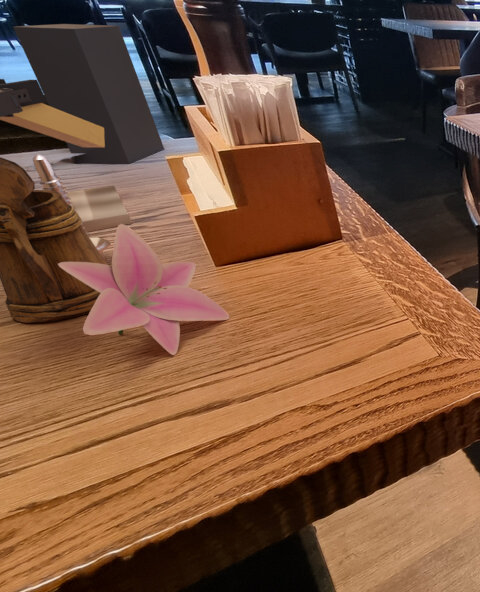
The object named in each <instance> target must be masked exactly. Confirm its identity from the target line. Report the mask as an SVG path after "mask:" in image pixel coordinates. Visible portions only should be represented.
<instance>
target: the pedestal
mask: <svg viewBox="0 0 480 592" xmlns="http://www.w3.org/2000/svg"><path fill="white" fill-rule="evenodd" d="M12 28H13V30H14V32H15V35H16V37H17V38H18V41H19V44H20V45H21V48H22V50H23V52H24V54H25V56H26V58H27V61H28V63H29V65H30V67H31V69H32V71H33V74H34V76H35V78H36V80H37V81H38V84H39V86H40V88H41V90H42V92H43V94H44V97H45V99H46V101H47V102H46V103H47V105H48V106H50V107H53V108H55V109H58V110H60V111H63V112H66V113H68V114H71V115H73V116H76V117H78V118H81V119H83V120H86V121H88V122H91V123H93V124H96V125H98V126H101V127H103V128H104V141H105V147H81V146H78V145H75V144H72V143H69V142H66V141H65V143H66V146H67V148H68V149H69V152H70V154H77V155H73V156H72V159H73V161H74V163H75V164H79V165H83V164H84V165H85V164H86V165H87V164H88V165H91V164H92V165H113V164H114V165H130V164H132V163H135V162H137V161H140V160H142V159H145V158H147V157H149V156H151V155H155V154H157V153H159V152H161V151H164V150H165V147H164V144H163V141H162V138H161V136H160V134H159V131H158V127H157V125H156V122H155V120H154V117H153V115H152V111H151V108H150V107H149V104H148V100H147V99H146V96H145V93H144V90H143V88H142V85H141V81H140V79H139V77H138V74H137V71H136V68H135V66H134V62H133V61H132V58H131V55H130V52H129V50H128V47H127V44H126V42H125V38H124V36H123V34H122V31H121V28H120V26H119V25H102V24H101V25H100V24H79V23H78V24H77V23H76V24H74V23H58V24H57V23H56V24H55V23H54V24H39V25H38V24H37V25H19V26H13V27H12Z"/></svg>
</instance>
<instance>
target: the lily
mask: <svg viewBox="0 0 480 592" xmlns="http://www.w3.org/2000/svg"><path fill="white" fill-rule="evenodd" d="M58 265H59V267H60V268H62V269H63V270H65V271H66V272H68V273H69V274H71V275H72V276H74V277H75V278H77V279H78V280H80V281H82V282H83V283H85V284H87V285H88V286H90V287H91V288H93V289H95V290H96V291H98V292H100V293H101V294H100V295H99V296H98V298H97V300H96V302H95V304H94V305H93V307H92V309H91V311H90V313H88V315H87V317H86V319H85V321H84V324H83V326H82V327H83V328H82V331H83V334H85V335H88V336H97V335H105V334H109V333H114V332H118V333H117V334H118V335H123V333H124V330H125V331H126V330H129V329H133V328H138V327H142V328H143V329H144V330H145V331H146V332H147V333H148V334H149V335H150V336H151V337H152V338H153V339H154V340H155V341H156V342H157V343H158V344H159V345H160V346H161V347H162V348H163V349H164V350H165V351H166V352H168V354H170V355H171V356H175V355H176V354H177V353H178V349H179V346H180V337H181V328H180V322H199V321H201V322H204V321H207V322H209V321H211V322H214V321H225V320H229V319H230V318H231V317H230V314H229V313H228V312H227V311H226V310H225V308H223V307H222V306H221V305H219V303H217V302H216V301H214V299H212V298H210V297H209V296H208V295H206V294H205V293H203V292H201V291H200V290H197V289H195V288H193V287H190V284H191V282H192V280H193V278H194V275H195V272H196V268H197V267H196V266H197V265H196V263H195V262H194V261H189V260H188V261H187V260H185V261H183V260H182V261H172V262H166V263H162V261H161V259H160V257H159V255H158V253H156V252H155V250H154V249H153V248H152V247H151V246H150V244H149V243H147V242H146V240H145V239H143V238H142V236H140V235H139V234H138V233H137V232H136V231H135V230H133V229H132V228H130V227H129V226H128V225H123V224H120V225H118V226H117V227H116V231H115V236H114V243H113V250H112V256H111V265H109V264H108V265H105V264H99V263H89V262H61V263H58Z"/></svg>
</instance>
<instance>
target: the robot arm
mask: <svg viewBox="0 0 480 592" xmlns="http://www.w3.org/2000/svg"><path fill="white" fill-rule="evenodd" d="M38 103H43V104H44V103H48V102H47V100H46V98H45V96H44V93H43V91H42V89H41V87H40V85H39V83H38V80H37V79H26V80H19V81H12V82H8V83H6V80H5V78H0V117H14V115H13V114H14V113H20V112H22V111H23V110H22V108H21V107H24V106H29V105H34V104H38Z"/></svg>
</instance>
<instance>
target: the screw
mask: <svg viewBox="0 0 480 592" xmlns="http://www.w3.org/2000/svg"><path fill="white" fill-rule="evenodd" d="M32 162H33V165H34V168H35V170H36V173H37V174H38V176H39V177H38V179H39V180H40V183H39V185H42V190H49V191H57V192H59V193H60V194H61V196H62V197H63V198H64V200H65V201H66V203H67V204H70V205H71V206H72V205H73V203H72V202H70V200H71V198H70V197H68V196H67V195H68V194H69V193H67V192H68V191H66V190H67V187H65V186H64V185H65V183H64V182H62V181H61V177H60V176H57V174H56V171H55V170H54V168H53V166H52V164H51V162H50V161H49V160H48V158H47V157H46V156H44V155H42V154H36V155H35V156H33V158H32ZM72 207H73V206H72ZM73 208H74V210H75V209H76V208H75V207H73ZM77 214H78V213H77ZM82 224H83V223H82ZM82 224H81V225H82ZM82 227H83V229H85V227H84V226H82ZM85 232H86V231H85ZM86 234H87V235H88V232H86ZM88 237H89V238H90V240H91V241H92V243H93V244H94V245H95V247H96V248H97V250H98V251H99V253H100V254H101V256H102V257H103V258H104V260H105V261H106V257H105V255H104V253H103V252H104V251H106V250H107V249H109V248H110V247H111V242H110V240H108V239H105V238H103V237H96V236H95V237H90V236H89V235H88Z"/></svg>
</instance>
